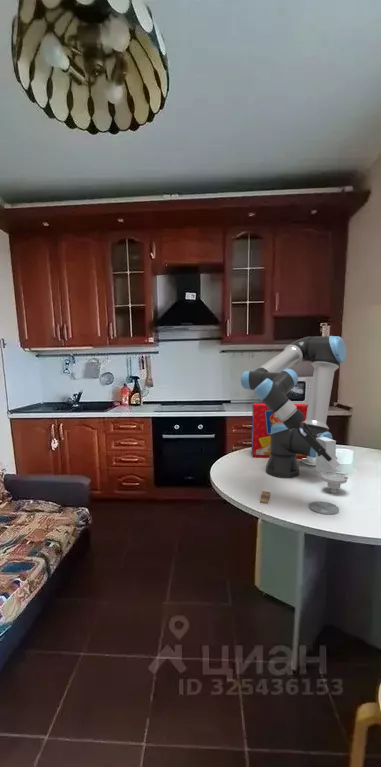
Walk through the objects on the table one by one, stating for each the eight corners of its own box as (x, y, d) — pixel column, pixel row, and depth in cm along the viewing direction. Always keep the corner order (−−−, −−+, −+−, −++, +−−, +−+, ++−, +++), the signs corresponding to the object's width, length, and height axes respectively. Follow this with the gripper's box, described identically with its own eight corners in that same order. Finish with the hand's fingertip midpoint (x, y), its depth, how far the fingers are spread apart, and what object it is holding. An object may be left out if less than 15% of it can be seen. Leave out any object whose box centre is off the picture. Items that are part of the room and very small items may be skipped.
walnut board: (262, 493, 146) (262, 491, 146) (270, 493, 145) (270, 491, 145) (259, 502, 136) (259, 500, 136) (267, 503, 135) (268, 501, 135)
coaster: (308, 501, 138) (308, 499, 138) (337, 504, 135) (337, 503, 135) (309, 512, 128) (309, 510, 128) (340, 516, 125) (340, 514, 125)
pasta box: (252, 457, 195) (253, 405, 192) (251, 453, 203) (252, 403, 200) (306, 459, 192) (308, 406, 190) (303, 455, 200) (305, 404, 198)
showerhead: (344, 480, 140) (318, 474, 146) (343, 498, 141) (317, 492, 147) (351, 474, 147) (326, 468, 154) (350, 491, 148) (325, 485, 154)
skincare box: (335, 474, 128) (337, 440, 127) (324, 475, 127) (326, 441, 126) (325, 469, 134) (326, 436, 133) (314, 470, 133) (315, 437, 132)
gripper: (283, 417, 143) (325, 462, 140) (280, 427, 124) (329, 479, 121) (297, 404, 141) (341, 449, 138) (297, 412, 122) (348, 465, 119)
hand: (335, 463), depth 129 cm, fingers closed on skincare box, 7 cm apart
